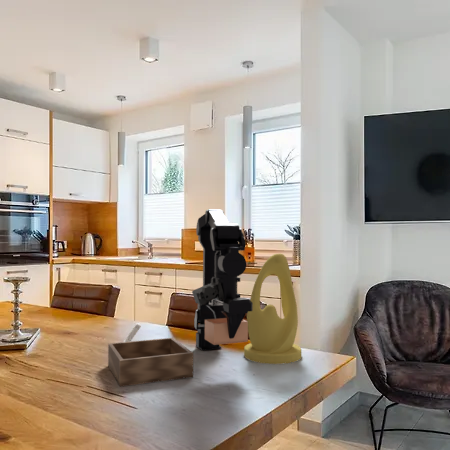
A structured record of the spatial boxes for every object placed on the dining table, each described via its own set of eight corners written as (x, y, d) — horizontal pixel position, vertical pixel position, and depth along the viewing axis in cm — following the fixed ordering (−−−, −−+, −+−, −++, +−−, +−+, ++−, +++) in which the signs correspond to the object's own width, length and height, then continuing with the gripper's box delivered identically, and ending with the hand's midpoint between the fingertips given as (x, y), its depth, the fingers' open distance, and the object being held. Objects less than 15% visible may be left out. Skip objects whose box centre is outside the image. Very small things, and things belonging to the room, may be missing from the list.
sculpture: (263, 366, 121) (263, 254, 122) (234, 352, 136) (234, 252, 137) (313, 359, 129) (312, 253, 130) (280, 346, 144) (279, 251, 144)
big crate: (172, 358, 129) (172, 337, 129) (193, 377, 112) (193, 352, 112) (108, 365, 122) (108, 343, 122) (119, 386, 105) (120, 360, 105)
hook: (155, 341, 128) (135, 328, 127) (131, 374, 129) (110, 361, 128) (157, 330, 135) (137, 318, 134) (134, 361, 136) (114, 349, 135)
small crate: (236, 336, 118) (236, 317, 119) (247, 341, 112) (247, 321, 113) (204, 339, 115) (204, 319, 115) (214, 344, 109) (214, 324, 109)
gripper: (184, 271, 120) (184, 330, 119) (209, 277, 102) (209, 347, 102) (223, 270, 124) (222, 327, 123) (253, 275, 107) (253, 342, 106)
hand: (226, 335), depth 114 cm, fingers closed on small crate, 6 cm apart
